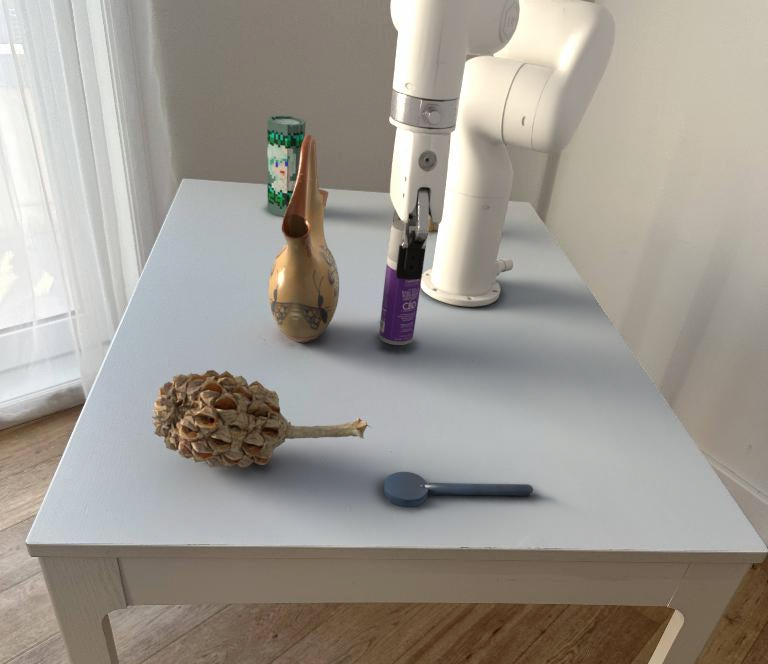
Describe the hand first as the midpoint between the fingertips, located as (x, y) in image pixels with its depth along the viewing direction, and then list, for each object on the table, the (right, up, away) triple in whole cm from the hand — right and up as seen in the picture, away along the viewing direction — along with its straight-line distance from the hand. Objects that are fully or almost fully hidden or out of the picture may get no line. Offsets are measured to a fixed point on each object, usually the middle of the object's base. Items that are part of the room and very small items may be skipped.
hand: (404, 267), depth 93 cm
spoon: (+5, -29, -16) cm, 34 cm away
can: (-21, +24, +41) cm, 51 cm away
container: (-1, -7, +6) cm, 10 cm away
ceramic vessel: (-14, -7, +6) cm, 17 cm away
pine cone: (-15, -26, -15) cm, 34 cm away
